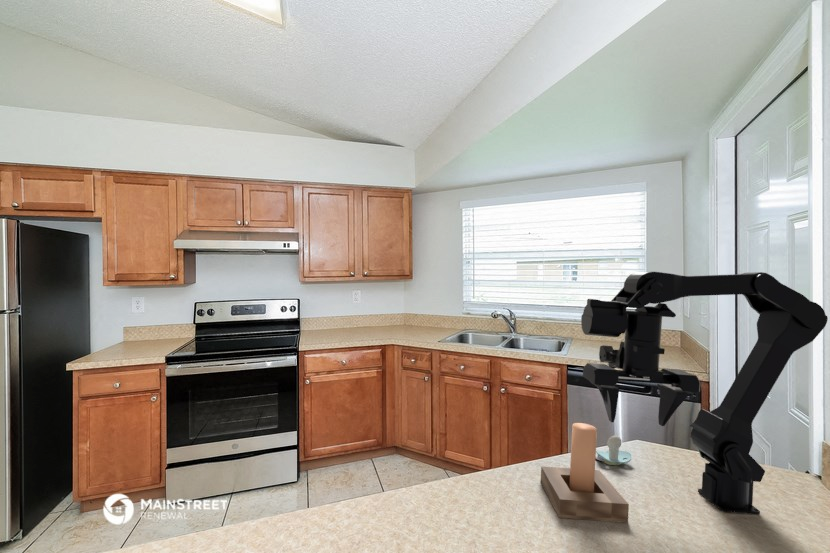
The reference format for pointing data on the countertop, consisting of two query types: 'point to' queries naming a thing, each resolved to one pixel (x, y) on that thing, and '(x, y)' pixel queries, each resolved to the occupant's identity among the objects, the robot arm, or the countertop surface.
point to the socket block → (583, 497)
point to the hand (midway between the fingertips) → (636, 423)
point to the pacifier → (613, 453)
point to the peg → (583, 458)
